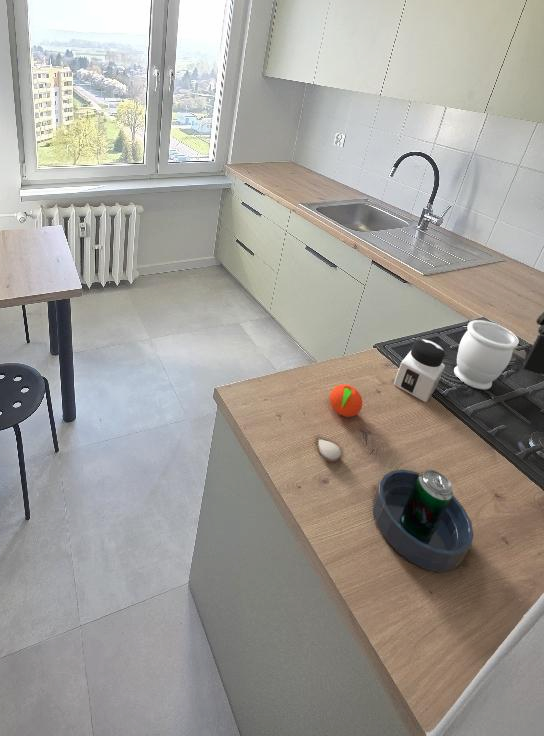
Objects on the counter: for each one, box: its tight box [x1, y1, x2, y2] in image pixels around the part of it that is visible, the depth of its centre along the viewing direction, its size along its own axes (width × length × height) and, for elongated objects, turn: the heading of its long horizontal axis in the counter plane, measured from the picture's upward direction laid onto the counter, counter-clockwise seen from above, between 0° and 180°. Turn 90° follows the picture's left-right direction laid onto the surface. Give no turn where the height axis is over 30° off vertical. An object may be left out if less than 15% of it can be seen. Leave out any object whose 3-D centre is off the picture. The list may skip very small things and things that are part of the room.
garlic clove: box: [318, 438, 342, 462], centre depth 87 cm, size 4×5×2 cm
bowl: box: [372, 469, 475, 573], centre depth 74 cm, size 14×14×6 cm
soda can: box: [401, 469, 454, 539], centre depth 72 cm, size 5×5×12 cm
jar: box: [453, 319, 520, 390], centre depth 107 cm, size 11×10×15 cm
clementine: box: [329, 383, 363, 418], centre depth 96 cm, size 8×7×7 cm
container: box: [393, 339, 446, 403], centre depth 104 cm, size 8×8×13 cm
